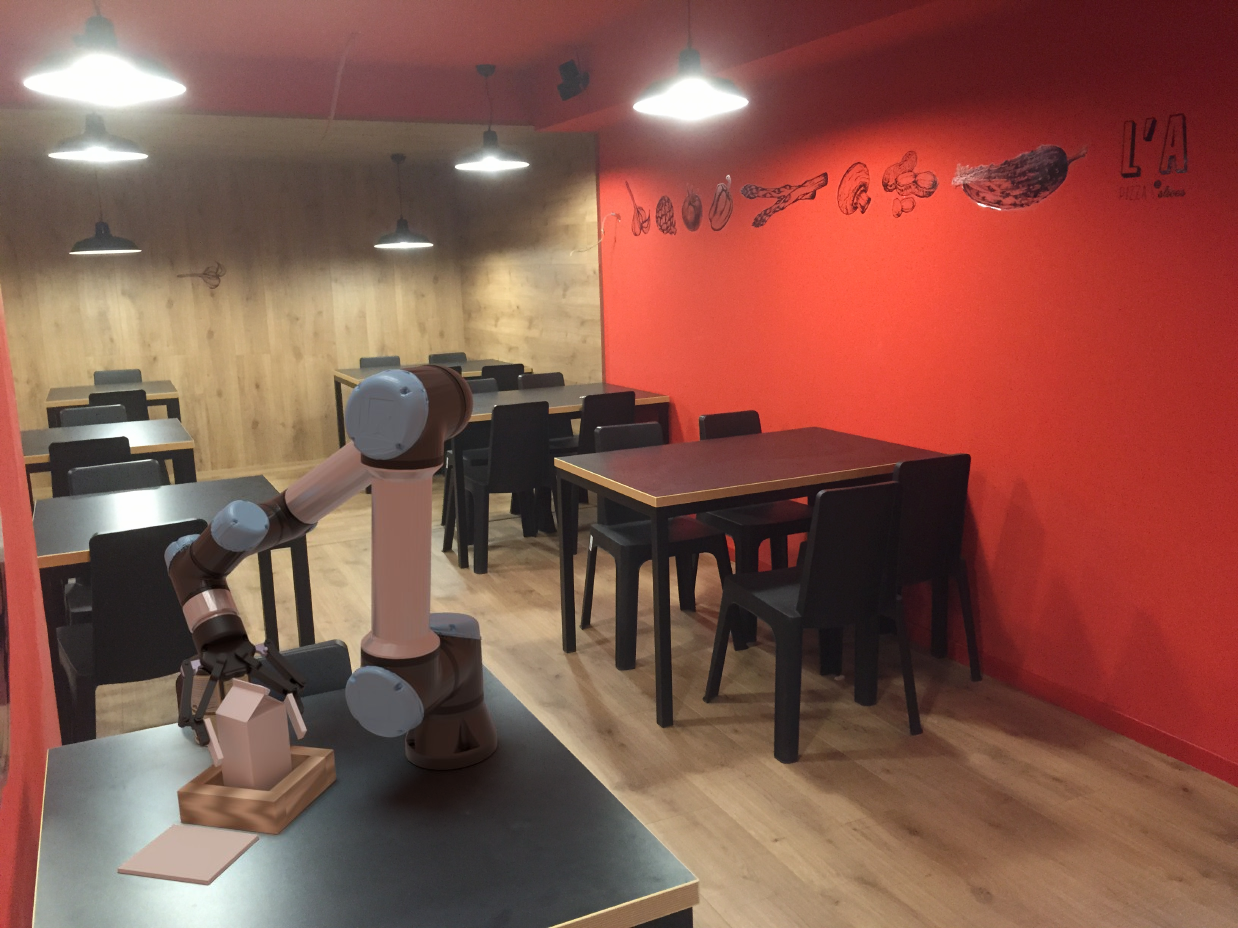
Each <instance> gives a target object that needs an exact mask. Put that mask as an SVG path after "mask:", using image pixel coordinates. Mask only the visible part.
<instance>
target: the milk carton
mask: <svg viewBox="0 0 1238 928" xmlns="http://www.w3.org/2000/svg"><path fill="white" fill-rule="evenodd" d="M232 680H233V686H232V688H231V689H230V691H229V692H228V694H227V695H226V697H225V699H224V700H223V702H222V703H221V705H220V706H219V708H218V709H217V711H216V712H215V713H216V721H217V730H218V739H219V746H220V749H221V751H222V754H223V757H224V758H223V761H222V763H221V766H222V774H223V783H224V786H225V787H234V788H243V789H252V790H261V791H270V790H271V789H272V788H274V787H275V786H276V785H277V784H278V783H279V782H281V781H282V780H283V779H284V778H285V777H286V776H288V775H289V774H290V773H291V772H292V762H291V752H290V746H291V744H290V743H291V742H290V733H289V724H288V723H289V722H288V713H287V710H286V704H285V703H284V701H283V702H282V701H280V700H279V699H276V698H275V697H272V696H270V693H271V688H268V687H266V686H263V685H260V684H255V683H248V682H245V681H241V680H238V679H232Z"/></svg>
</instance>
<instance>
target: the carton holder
mask: <svg viewBox="0 0 1238 928" xmlns="http://www.w3.org/2000/svg"><path fill="white" fill-rule="evenodd" d="M334 750H335V749H332V748H318V747H309V746H302V745H301V746H299V745H290V752H291V762H292V772H291V773H290V774H289V775H288V776H286V777H285V778H284V779H283V780H282V781H281V782H279V783H278V784H277V785H276V786H275V787H274V788H272V789H271V790H270V791H261V790H252V789H243V788H234V787H225V786H224V783H223V774H222V766H221V765H220V766H217V767H215V765H214V763H213V764H211V765H210V766H209V767H208V768H206V769H205V770H204V771H202V772H201V773H199V774H198V775H197V776H196V777H194V778H193V779H191V780H190V781H188V782H187V783H186V784H185V785H184V786H182V787H180V788H179V789H178V790H177V791H176V793H177V801H178V810H179V817H180V818H179V819H180V823H182V824H190V825H198V826H206V827H215V828H223V829H229V830H230V829H231V830H239V831H246V832H254V833H265V834H271V835H279V834H280V833H281V832H282V831H283V830H284V829H285V828H286V827H287V826H288V825H289V824H290V823H291V822H292V821H294V820H295V818H296V817H298V816H299V815H300V813H302V812H303V811H304V810H305V809H306V808H308V806H309V805H311V804H312V803H313V801H315V800H316V799H317V798H318V797H319V796H320V795H321V794H322V793H323V792H324V791H325V790H326V789H327V788H329V786H330V785H332V784H333V783H334V782H335V781H336V780H337V774H336V773H337V771H336V762H335V761H336V760H335V751H334Z"/></svg>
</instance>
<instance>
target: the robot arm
mask: <svg viewBox="0 0 1238 928" xmlns="http://www.w3.org/2000/svg"><path fill="white" fill-rule="evenodd" d="M347 398H348V399H347V402H346V404H345V409H344V418H343V419H344V427H345V431H346V434H347V435H346V436H347V437H348V439H349V440H350V441H349V442H347V444H345V445H343V446H342V447H341V448H339V449H338V450H337V451H335V452H334V453H332V454H331V455H330V456H329V457H327V458H325V459H324V460H323V461H322V462H321V463H319V464H318V465H317V466H315V467H314V468H312V469H311V470H310V471H308V472H307V473H306V474H303V476H301V477H300V478H299V479H297V480H296V481H294V483H292V484H291V485H290V486H288V487H287V488H286V489H284V490H283V491H282V492H279V494H277V495H276V496H274V497H273V498H272V499H271V498H270V499H268V500H266V501H264V502H260V503H257V504H255V503H254V502H251V501H244V500H241V499H237V500H233V501H232V502H229V503H228V504H227V505H226V506H225V507H224V508H223V509H221V510H220V511H218V512H217V514H216V515H215V516H214V518H213V519H212V521H211V522H209V524H208V526H207V527H205V528H204V530H203V531H202V532H201V533H199V534H197V533H195V534H188V535H185V536H181V537H179V538H178V540H177V541H172V542H171V543H169V545H168V546H167V547H166V549H165V551H164V561H165V564H166V568H167V574H168V577H169V578H170V580H171V583H172V586H173V588H174V589H173V590H174V591H175V593H176V596H177V599H178V602H179V604H180V607H181V609H182V612H183V615H184V617H185V621H186V623H187V627H188V630H189V631H190V633H191V637H192V641H193V643H194V646H195V648H196V649H195V650H196V652H197V654H198V655H199V660H195V661H190V660H188V659H189V658H187V659H183V660H182V662H181V666H180V669H179V672H180V676H181V678H182V687H181V695H180V702H179V710H178V711H179V712H178V717H177V727H179V728H183V729H184V728H185V727H190V728H191V729H192V730H193V731H194V730H195V731H194V734H195V733H196V735H197V738H198V741H199V744H200V746H201V747H206V746H205V745H208V746H207V747H208V750H209V753H210V757H211V758H212V763H213V764H214V765H215V767H217V766H220V765H221V763H222V761H223V758H224V757H223V754H222V751H221V749H220V746H219V743H218V740H217V737H216V735H215V732H214V729H213V726H212V723H211V721H210V718H207V719H204V720H203V717H204V715H205V712H206V710H207V707H208V704H209V702H210V699H211V697H212V694H213V692H214V689H215V687H216V684H217V682H218V680H221V681H223V682H225V681H229V680H230V679H232V678H240V677H243V676H244V675H245V674H247V675H248V676H250V677H251V679H256V680H257V681H259V682H261V683H263V685H265V686H267V687H269V689H272V690H274V691H275V692H276V693H278V694H279V695H282V696H283V697H285V699H284V700H283V703H285V704H286V712H287V716H288V718H289V720H290V723H291V725H292V728H293V730H294V732H295V735H296V737H297V740H300V739H301V740H302V739H303V738H304V737H305V735H306V734H307V732H308V729H307V727H306V725H305V722H304V720H303V718H302V716H303V715H304V712H305V705H304V703H303V701H302V699H301V695H300V693H302V692H304V690H305V688H306V686H307V684H308V680H307V678H306V677H304V676H303V675H302V674H301V673H300V672H299V670H297V669H296V667H294V665H293V664H291V663H290V661H288V659H286V657H284V656H283V655H282V654H281V652H280V651H278V649H277V648H276V646H275V643H274V642H273V639H271V638H268V637H267V638H266V639H264V641H263V642H259V643H257V644H254V643H252V642H251V640H250V639H249V636H248V633H247V630H246V628H245V625H244V623H243V620H242V618H241V617H240V613H239V610H238V607H237V605H236V602H235V600H234V597H233V595H232V591H231V589H230V587H229V585H228V582H227V577H228V576H229V575H230V574H231V573H232V572H233V571H235V569H236V568H237V567H238V566H239V565H240V564H241V563H242V562H243V561H244V560H245V559H247V558H249V556H253V555H255V554H257V553H261V552H263V551H266V550H269V549H270V548H273V547H275V546H278V545H281V544H283V543H286V542H290V541H291V540H295V539H300V538H302V537H303V536H305V535H307V534H308V533H310V532H312V531H314V529H316V527H317V525H318V523H319V521H321V520H322V519H323V518H325V517H326V516H327V515H329V514H330V513H332V512H334V511H335V510H336V509H338V508H339V507H340V506H342V505H344V504H345V503H346V502H348V500H351V499H352V498H353V497H354V496H355V497H356V496H357V494H359V493H361V492H362V491H364V490H365V489H366V488H368V487H369V486H370V485H371V500H370V501H371V503H370V504H371V508H370V509H371V512H370V513H371V521H370V522H371V525H370V528H371V529H370V530H371V532H370V533H371V543H370V544H371V547H370V548H371V555H370V556H371V559H370V560H371V563H370V564H371V565H370V566H371V570H370V571H371V573H370V575H371V576H370V577H371V579H370V580H371V582H370V584H371V585H370V586H371V590H370V591H371V594H370V595H371V596H370V597H371V598H370V599H371V600H370V601H371V605H370V606H371V607H370V608H371V610H370V611H371V613H370V615H371V616H370V617H371V619H370V620H371V621H370V622H371V630H370V631H368V632H367V633H366V634H365V635H364V636H363V637H362V638H361V640H360V667H358V668H357V669H355V670H354V672H352V673H351V675H350V676H349V678H348V680H347V681H346V685H345V689H344V690H345V693H344V695H345V701H346V705H347V707H348V709H349V711H350V714H351V716H353V718H354V719H355V720H356V721H358V723H359V724H360V726H361V727H363V728H364V729H365V730H367V731H369V732H370V733H372V734H374V735H376V736H380V737H383V738H384V737H385V738H395V737H400V736H402V735H404V734H406V735H405V738H404V739H405V743H404V747H405V755H406V759H407V760H408V761H409V762H410V763H411V764H413V765H415V766H416V767H420V768H423V769H427V770H436V771H441V770H442V771H444V770H445V771H446V770H455V769H457V770H458V769H463V768H466V767H469V766H473V765H476V764H479V763H481V762H482V761H485V760H486V759H489V757H491V755H493V754H494V753H495V751H497V747H498V733H497V728H496V725H495V724H494V721H493V719H492V716H491V714H490V711H489V709H488V707H487V704H486V701H485V692H484V689H485V688H484V687H485V686H484V672H483V669H484V668H483V653H482V652H483V651H482V640H483V637H482V636H481V628H480V623H479V621H478V619H476V618H475V617H474V616H472V615H469V614H467V613H460V612H442V611H441V612H431V595H432V594H431V591H432V589H431V588H432V587H431V585H432V582H431V581H432V580H431V579H432V576H431V575H432V529H433V526H432V524H433V523H432V522H433V520H432V519H433V517H432V516H433V476H434V475H435V473H436V472H437V471H439V470H440V468H442V466H443V465H444V451H445V449H444V448H445V442H447V440H449V439H452V438H453V437H455V436H457V435H459V434H460V433H461V432H462V431H463V430H464V429H465V428H466V427H467V426H468V424H469V422H470V420H471V418H472V414H473V411H474V399H473V398H474V395H473V393H472V390H471V388H470V385H469V383H468V381H467V380H466V379H465V378H464V376H462V375H461V373H459V372H458V371H456V370H454V368H451V367H448V366H446V365H443V364H437V363H435V364H434V363H432V364H430V363H429V364H423V365H419V366H411V367H405V368H398V369H395V368H394V369H386V370H383V371H380V372H379V373H375V374H373V375H369V376H368V377H365V378H364V379H363V380H361V381H360V382H359V383H358V384H357V385H356V386H355V387H354V388H353V390H352V391H351V393H350V395H349V396H348V397H347ZM256 654H259V655H260V657H261V658H265V660H266V661H267V663H268V664H269V665H270V666H272V667H273V669H274V670H276V672H277V673H276V672H275V671H273V670H271V669H270V668H268V666H267V667H266V666H265V665H263V663H262V661H260V660H259V659H257V658H255V655H256ZM199 668H200V669H202V670H203V671H205V672H206V673H208V674H210V675H211V676H210V678H209V681H208V683H207V686H206V688H205V691H204V693H203V696H202V698H201V701H200V703H199V706H198V708H197V711H196V713H195V715H193V714H192V713H191V714H190V711H191V696H192V687H193V679H194V676H195V675H196V673H197V670H198V669H199Z"/></svg>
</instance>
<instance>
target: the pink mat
mask: <svg viewBox="0 0 1238 928" xmlns="http://www.w3.org/2000/svg"><path fill="white" fill-rule="evenodd" d="M259 839H260V836H259V834H258V833H257V834H256V833H255V834H254V833H247V832H239V831H231V830H222V829H215V828H207V827H205V828H204V827H198V826H190V825H182V824H174V823H173V824H172V825H171V826H169V827H168V828H167V829H166V830H164V831H163V832H161V834H159V835H158V836H157V837H156V838H154V839H153V840H151V842H149V843H148V844H146V845H145V846H144V847H143V848H142V849H140V850H139V851H137V853H135V854H134V855H132V856H131V857H129V859H127V860H126V861H125V862H123V864H121V865H120V866H118V867H117V868H116V869H117V873H119V874H126V875H134V876H141V877H149V878H156V879H163V880H169V881H170V880H171V881H178V882H185V883H191V884H199V885H205V886H208V885H210V884H212V882H214V880H216V878H218V877H219V876H220V875H221V874H222V873H223V872H224V871H225V870H226V869H227V868H229V867H230V866H231V865H232V864H233V863H234V862H236V860H237V859H239V857H241V856H242V855H243V854H244V853H245V852H246V851H247V850H248V849H250V848H251V846H253V845H254V844H255V843H256V842H257V841H258V840H259Z"/></svg>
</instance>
